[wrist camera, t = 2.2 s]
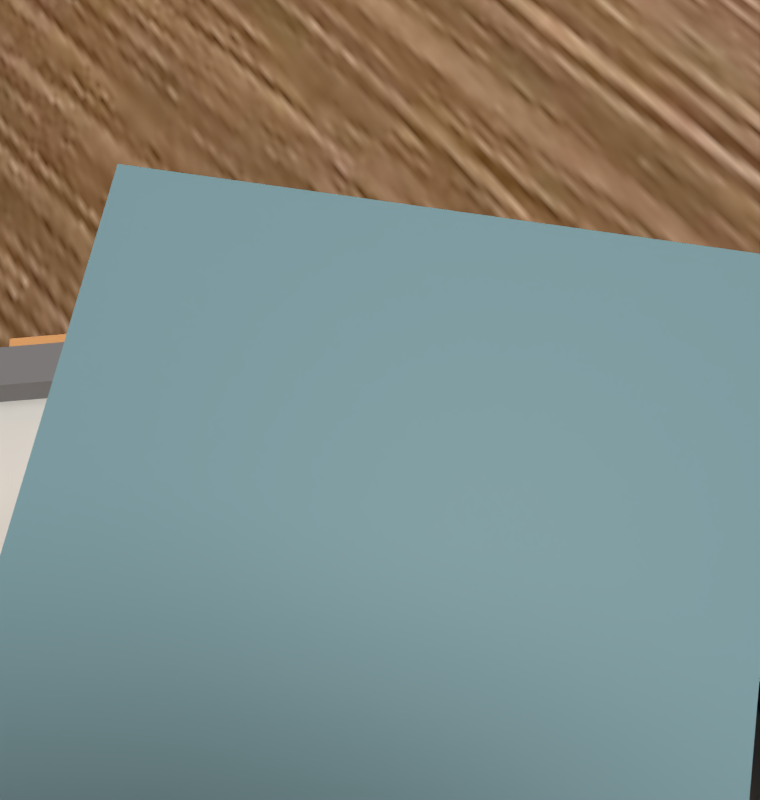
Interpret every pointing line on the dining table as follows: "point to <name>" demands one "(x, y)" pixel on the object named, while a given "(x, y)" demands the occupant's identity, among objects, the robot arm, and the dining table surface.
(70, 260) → the dining table surface
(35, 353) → the white base plate
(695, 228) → the dining table surface
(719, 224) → the dining table surface
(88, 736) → the carton
